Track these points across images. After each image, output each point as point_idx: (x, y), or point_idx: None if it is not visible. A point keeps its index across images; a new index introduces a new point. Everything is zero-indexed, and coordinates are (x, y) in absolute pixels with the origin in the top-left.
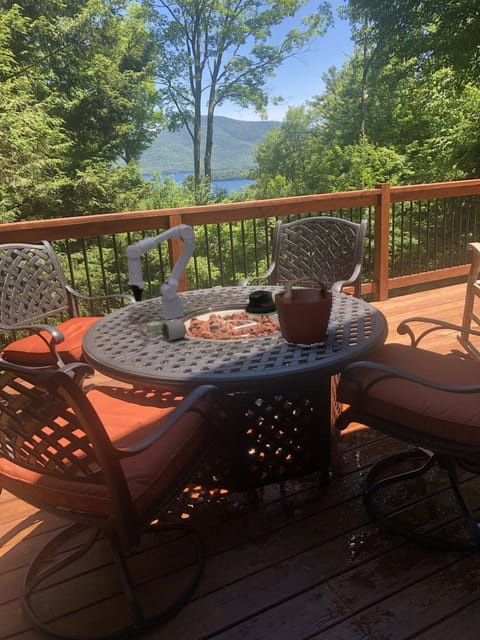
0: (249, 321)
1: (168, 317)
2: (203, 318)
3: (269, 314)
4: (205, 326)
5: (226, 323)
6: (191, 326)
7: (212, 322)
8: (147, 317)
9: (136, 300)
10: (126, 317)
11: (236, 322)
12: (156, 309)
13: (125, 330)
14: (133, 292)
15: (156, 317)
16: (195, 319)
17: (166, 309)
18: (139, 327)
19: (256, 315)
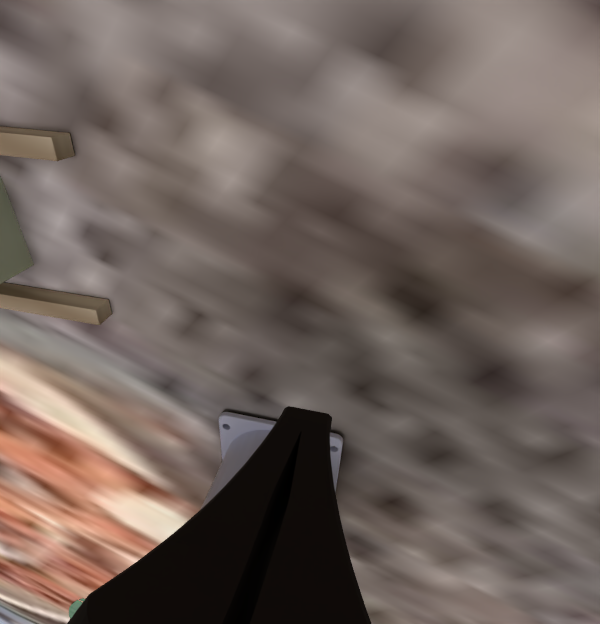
0: (20, 553)
1: (236, 438)
2: (140, 514)
3: (72, 615)
4: (7, 449)
5: (22, 510)
6: (29, 417)
7: (58, 496)
8: (388, 370)
9: (280, 419)
10: (578, 246)
11: (23, 531)
12: (540, 511)
13: (116, 17)
14: (277, 542)
15: (333, 407)
16: (143, 490)
17: (220, 486)
18: (51, 155)
19: (82, 599)
